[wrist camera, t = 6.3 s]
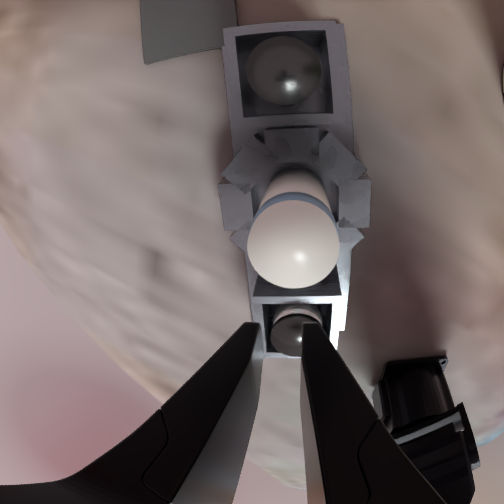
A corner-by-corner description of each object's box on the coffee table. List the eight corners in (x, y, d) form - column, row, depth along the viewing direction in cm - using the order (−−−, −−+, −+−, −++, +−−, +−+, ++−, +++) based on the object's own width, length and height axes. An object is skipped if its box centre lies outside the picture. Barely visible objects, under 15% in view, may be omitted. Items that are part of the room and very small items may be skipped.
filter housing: (354, 25, 13) (369, 4, 9) (352, 326, 22) (358, 366, 18) (210, 35, 14) (185, 18, 10) (246, 327, 24) (236, 365, 20)
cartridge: (325, 165, 17) (342, 202, 10) (326, 224, 18) (338, 288, 12) (262, 167, 17) (241, 205, 11) (267, 226, 19) (250, 289, 13)
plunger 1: (312, 52, 13) (317, 34, 10) (317, 104, 15) (324, 103, 11) (256, 55, 14) (242, 40, 10) (261, 107, 15) (249, 107, 12)
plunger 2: (321, 277, 20) (325, 318, 16) (320, 313, 21) (322, 356, 17) (275, 277, 20) (268, 318, 16) (277, 313, 22) (272, 356, 18)
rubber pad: (231, -34, 12) (229, -36, 11) (240, 45, 14) (238, 43, 14) (142, -11, 13) (139, -12, 12) (147, 64, 15) (144, 64, 15)
